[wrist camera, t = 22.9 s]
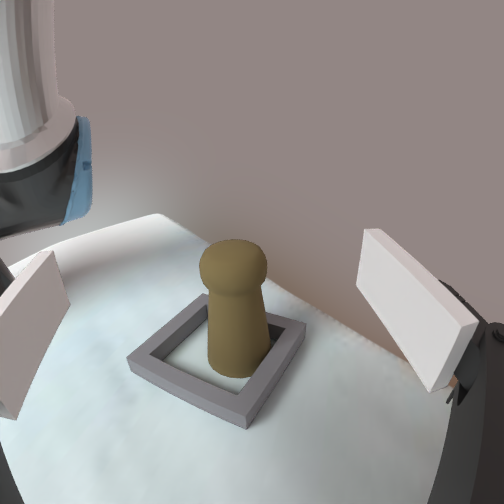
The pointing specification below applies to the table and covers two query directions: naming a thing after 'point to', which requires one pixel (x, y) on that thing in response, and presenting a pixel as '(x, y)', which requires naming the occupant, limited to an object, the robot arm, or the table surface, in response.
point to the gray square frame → (207, 395)
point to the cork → (235, 307)
